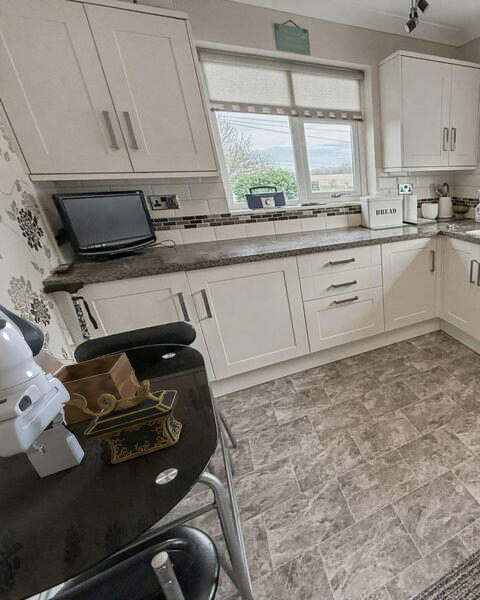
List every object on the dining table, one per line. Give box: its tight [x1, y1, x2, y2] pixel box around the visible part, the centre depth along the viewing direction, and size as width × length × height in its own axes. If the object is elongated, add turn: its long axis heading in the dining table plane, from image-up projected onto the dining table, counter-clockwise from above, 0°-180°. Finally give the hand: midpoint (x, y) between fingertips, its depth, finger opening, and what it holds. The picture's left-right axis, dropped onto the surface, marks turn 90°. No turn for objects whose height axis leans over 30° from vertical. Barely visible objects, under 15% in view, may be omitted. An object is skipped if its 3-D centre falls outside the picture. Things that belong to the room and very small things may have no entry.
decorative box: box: [62, 368, 183, 464], centre depth 77 cm, size 20×10×20 cm, turn 114°
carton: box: [53, 352, 141, 427], centre depth 96 cm, size 15×13×12 cm
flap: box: [33, 348, 64, 376], centre depth 89 cm, size 7×13×1 cm
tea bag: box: [26, 425, 85, 478], centre depth 75 cm, size 4×7×10 cm, turn 118°
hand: (51, 441), depth 74 cm, fingers open, 8 cm apart
